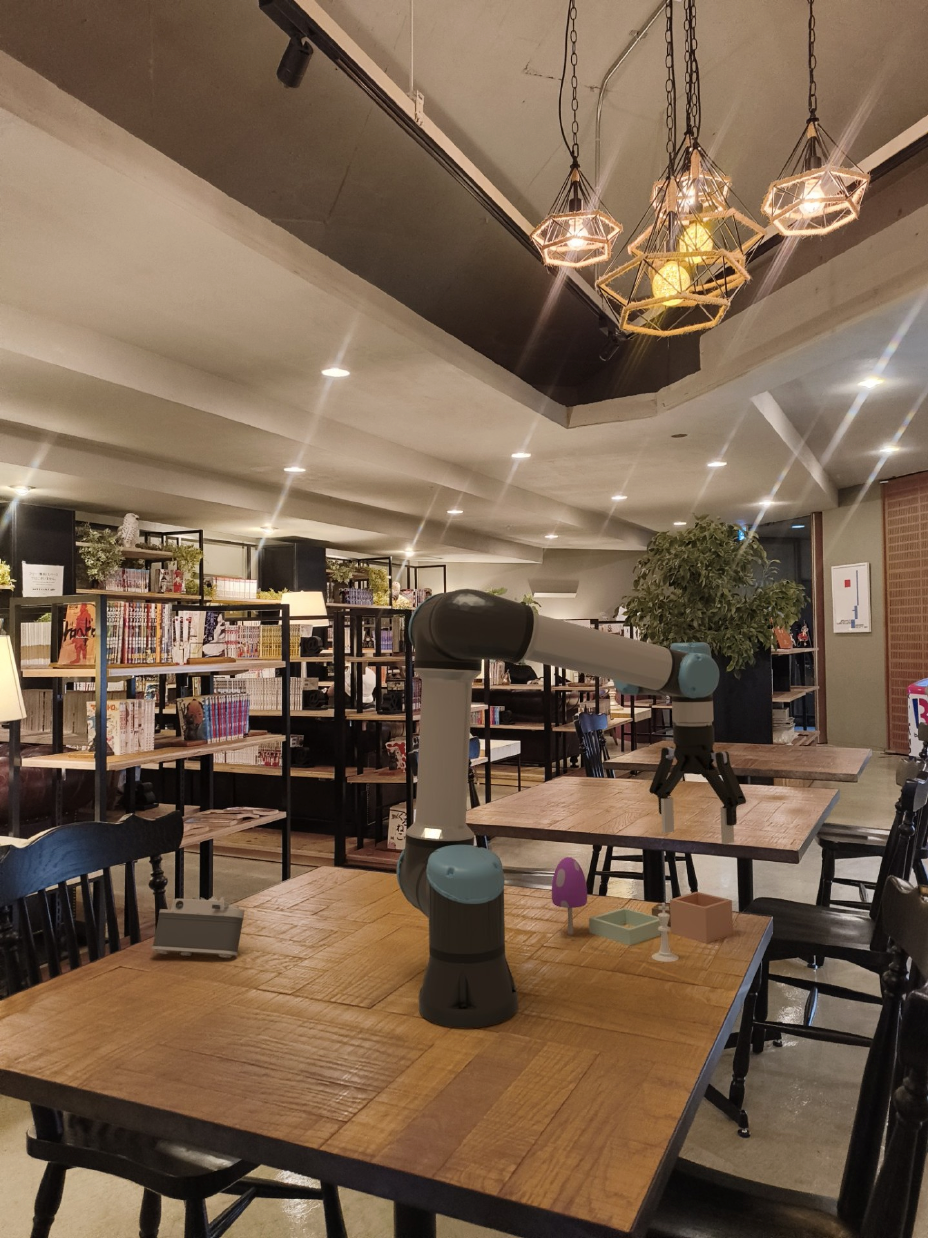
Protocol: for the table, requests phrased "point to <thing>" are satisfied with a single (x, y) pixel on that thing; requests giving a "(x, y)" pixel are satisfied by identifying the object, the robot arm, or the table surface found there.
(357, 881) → the table surface
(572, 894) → the toy
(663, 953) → the chess piece
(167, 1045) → the table surface
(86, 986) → the table surface
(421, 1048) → the table surface
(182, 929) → the camera
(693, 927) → the square terracotta box
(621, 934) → the green tray
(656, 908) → the walnut block
